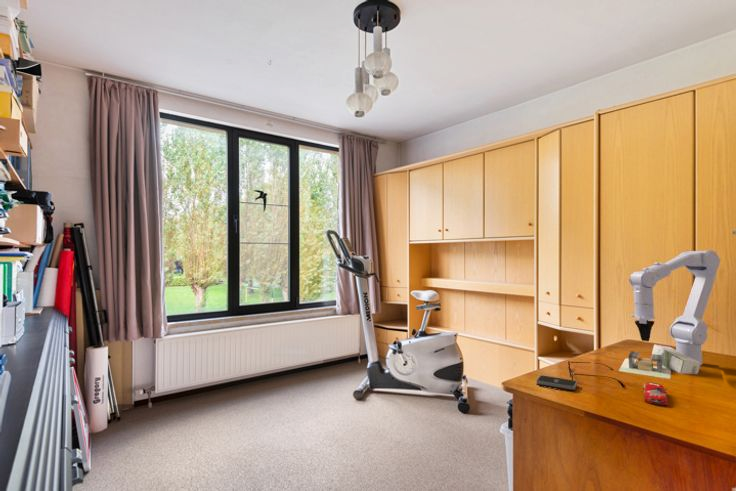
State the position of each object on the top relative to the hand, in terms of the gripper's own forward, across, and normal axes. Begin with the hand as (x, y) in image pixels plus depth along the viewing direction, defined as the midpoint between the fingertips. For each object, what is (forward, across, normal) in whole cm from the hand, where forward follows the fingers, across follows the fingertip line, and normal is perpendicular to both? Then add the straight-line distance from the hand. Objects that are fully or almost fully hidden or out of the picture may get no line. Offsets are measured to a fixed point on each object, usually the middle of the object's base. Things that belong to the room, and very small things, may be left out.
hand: (645, 340), depth 135 cm
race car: (+11, +33, +4) cm, 35 cm away
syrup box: (+7, +4, +12) cm, 15 cm away
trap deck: (+10, +4, 0) cm, 11 cm away
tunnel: (+9, +5, 0) cm, 10 cm away
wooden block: (+9, +6, 0) cm, 10 cm away
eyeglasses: (+11, +23, -13) cm, 29 cm away
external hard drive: (+11, +39, -21) cm, 46 cm away
